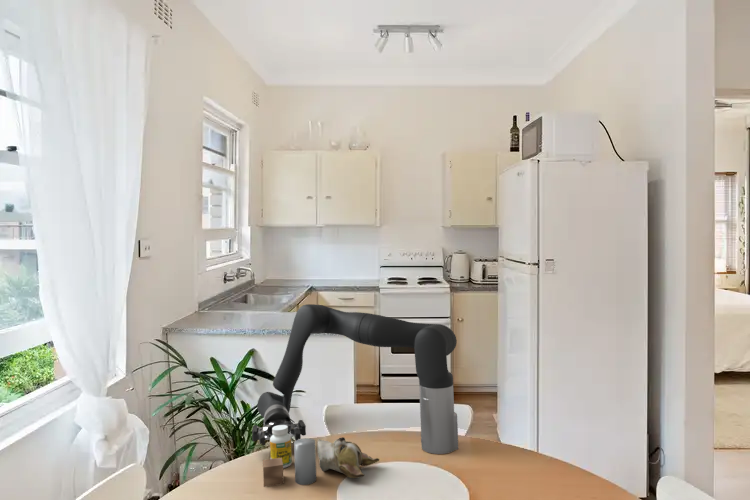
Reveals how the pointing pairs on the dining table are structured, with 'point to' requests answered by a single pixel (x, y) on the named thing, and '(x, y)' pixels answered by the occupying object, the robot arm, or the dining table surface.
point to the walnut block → (273, 472)
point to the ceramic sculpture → (343, 457)
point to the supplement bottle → (281, 445)
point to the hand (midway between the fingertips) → (280, 439)
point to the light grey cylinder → (305, 461)
